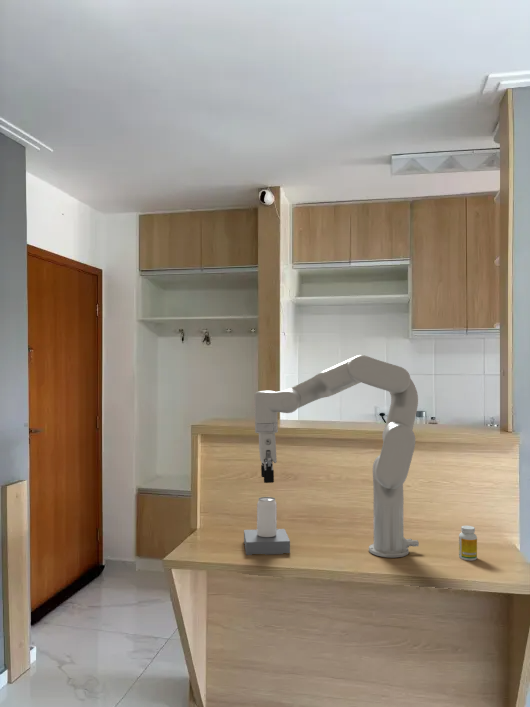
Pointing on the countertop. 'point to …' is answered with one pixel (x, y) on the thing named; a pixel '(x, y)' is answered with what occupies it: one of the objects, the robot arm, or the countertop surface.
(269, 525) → the can
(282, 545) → the base block
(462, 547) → the supplement bottle
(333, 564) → the countertop surface
